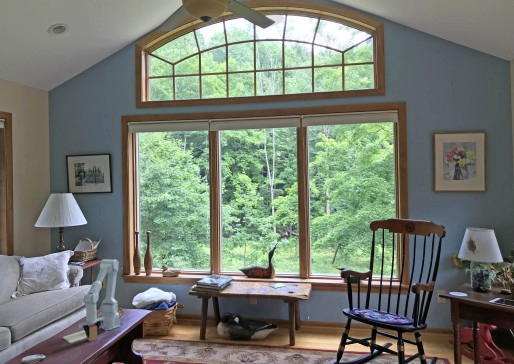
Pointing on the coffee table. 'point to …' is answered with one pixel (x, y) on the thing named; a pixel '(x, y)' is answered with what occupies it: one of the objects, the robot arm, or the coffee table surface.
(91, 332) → the terracotta block
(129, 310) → the coffee table surface
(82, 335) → the grey mat
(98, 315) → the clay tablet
